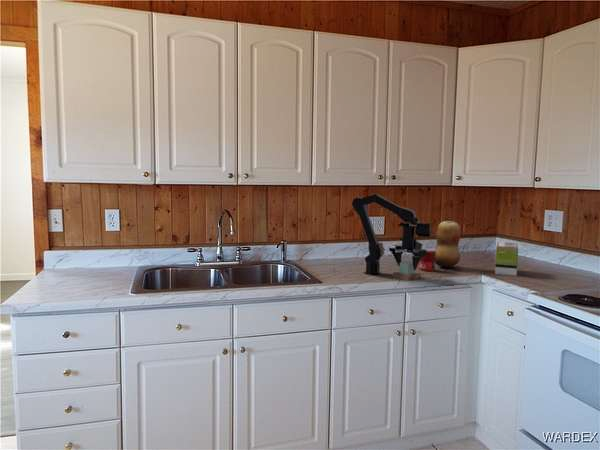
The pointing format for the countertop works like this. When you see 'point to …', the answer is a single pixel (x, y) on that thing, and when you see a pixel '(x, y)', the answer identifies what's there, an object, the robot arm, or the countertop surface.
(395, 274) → the walnut base
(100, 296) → the countertop surface
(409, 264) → the teal block
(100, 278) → the countertop surface
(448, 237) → the butternut squash
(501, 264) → the tea box
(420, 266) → the canned food
